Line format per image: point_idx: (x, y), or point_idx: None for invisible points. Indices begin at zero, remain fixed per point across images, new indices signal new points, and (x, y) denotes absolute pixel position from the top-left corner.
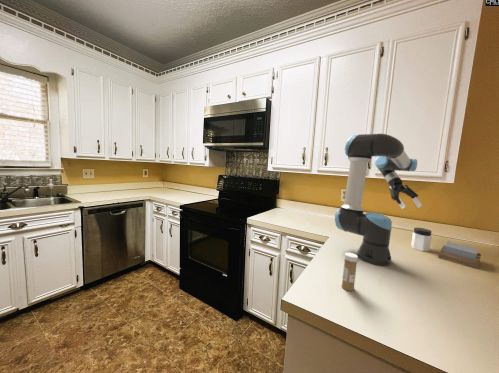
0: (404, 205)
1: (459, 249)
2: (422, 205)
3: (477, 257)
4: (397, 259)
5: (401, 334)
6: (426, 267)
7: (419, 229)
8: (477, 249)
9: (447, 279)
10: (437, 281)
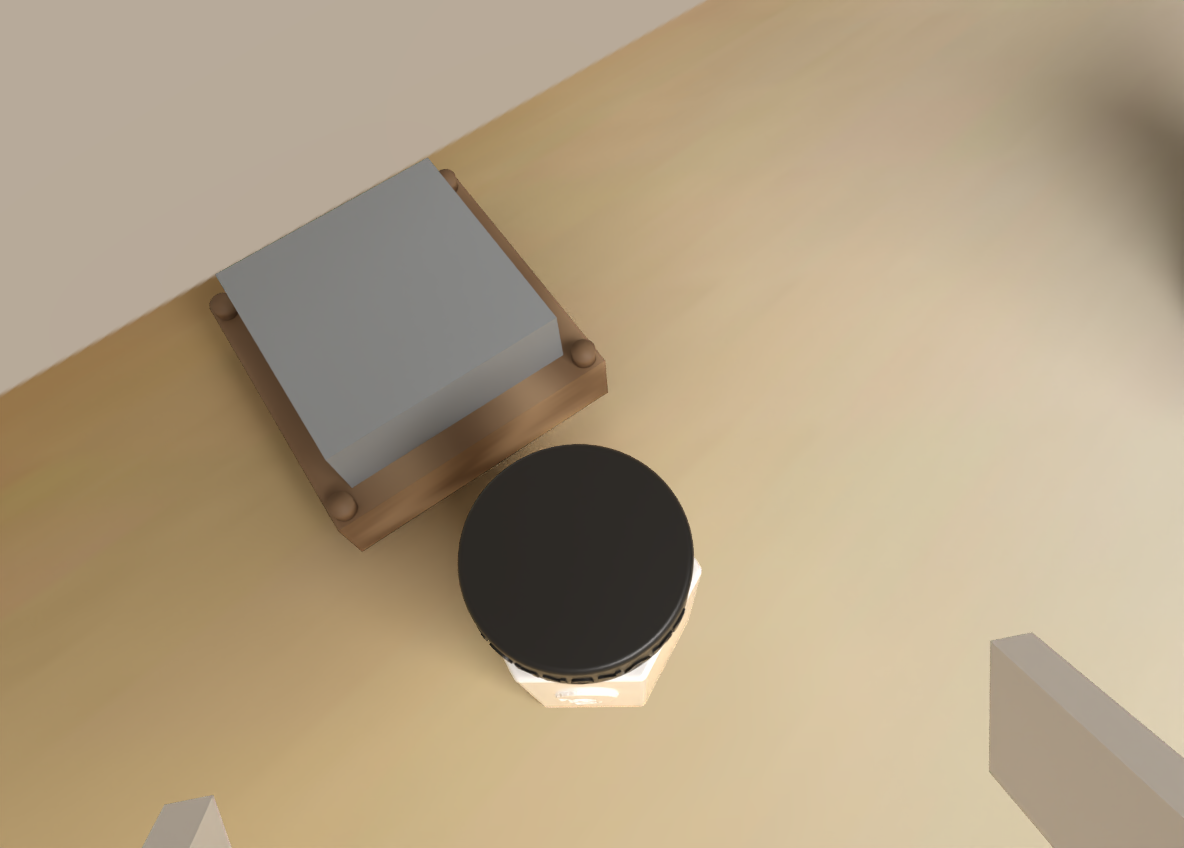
0: (1068, 670)
1: (484, 237)
2: (161, 812)
3: None
4: (1101, 337)
5: None
6: (916, 217)
7: (638, 549)
8: (258, 251)
9: (898, 83)
10: (999, 60)
